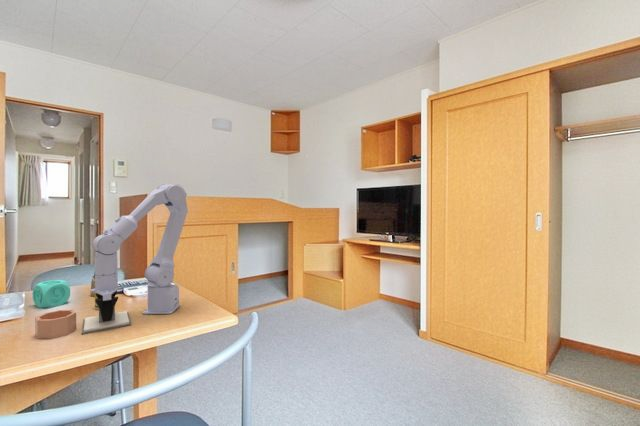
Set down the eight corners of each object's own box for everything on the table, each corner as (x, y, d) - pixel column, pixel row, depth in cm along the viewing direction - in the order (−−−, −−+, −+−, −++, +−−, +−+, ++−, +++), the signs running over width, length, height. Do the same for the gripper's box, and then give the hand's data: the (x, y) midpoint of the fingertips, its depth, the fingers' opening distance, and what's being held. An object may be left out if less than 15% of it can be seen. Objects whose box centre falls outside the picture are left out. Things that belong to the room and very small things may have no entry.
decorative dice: (58, 299, 118) (58, 278, 118) (70, 302, 114) (70, 281, 114) (32, 305, 111) (31, 283, 110) (44, 309, 107) (43, 286, 107)
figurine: (108, 290, 130) (107, 262, 130) (115, 293, 126) (115, 264, 126) (87, 294, 124) (87, 264, 124) (94, 298, 120) (94, 267, 120)
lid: (126, 312, 104) (126, 300, 103) (129, 323, 95) (129, 310, 94) (85, 319, 97) (85, 306, 97) (83, 331, 88) (83, 317, 88)
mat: (128, 313, 104) (128, 312, 104) (131, 325, 95) (131, 323, 94) (83, 321, 97) (83, 319, 97) (81, 334, 88) (81, 332, 88)
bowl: (82, 326, 94) (82, 309, 93) (60, 338, 85) (60, 320, 85) (52, 326, 93) (52, 310, 93) (27, 338, 84) (27, 320, 84)
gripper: (90, 270, 99) (91, 312, 99) (89, 280, 87) (90, 328, 88) (117, 268, 103) (117, 308, 104) (119, 277, 91) (119, 322, 92)
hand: (106, 317), depth 96 cm, fingers open, 6 cm apart
